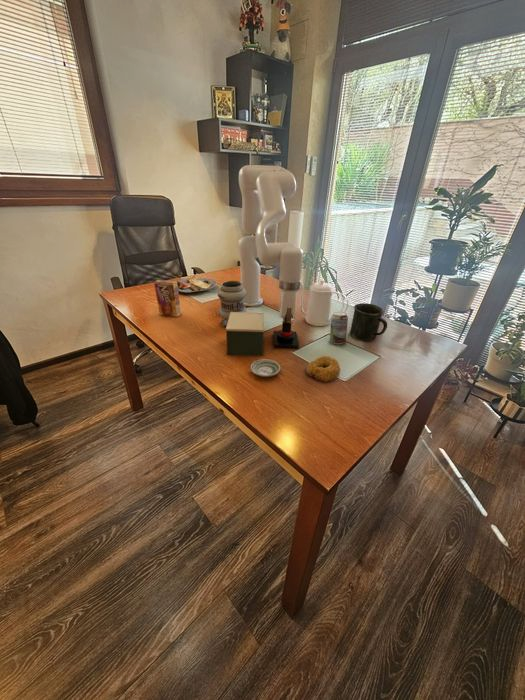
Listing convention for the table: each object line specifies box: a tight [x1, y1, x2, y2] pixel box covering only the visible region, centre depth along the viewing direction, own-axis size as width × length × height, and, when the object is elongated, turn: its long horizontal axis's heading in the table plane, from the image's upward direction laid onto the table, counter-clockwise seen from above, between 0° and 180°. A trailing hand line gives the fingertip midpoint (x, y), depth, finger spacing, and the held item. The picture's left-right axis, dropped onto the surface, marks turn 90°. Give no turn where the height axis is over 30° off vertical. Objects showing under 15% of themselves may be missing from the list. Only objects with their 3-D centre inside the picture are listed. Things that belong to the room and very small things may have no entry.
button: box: [280, 329, 291, 336], centre depth 111 cm, size 4×4×2 cm
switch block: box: [273, 329, 300, 350], centre depth 112 cm, size 11×9×4 cm
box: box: [225, 322, 265, 356], centre depth 107 cm, size 14×13×10 cm
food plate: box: [176, 275, 217, 293], centre depth 163 cm, size 25×23×4 cm
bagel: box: [305, 355, 342, 382], centre depth 94 cm, size 10×11×5 cm
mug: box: [349, 302, 388, 342], centre depth 114 cm, size 11×15×12 cm
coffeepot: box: [300, 279, 349, 327], centre depth 124 cm, size 11×25×19 cm, turn 62°
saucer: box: [250, 358, 282, 378], centre depth 94 cm, size 10×10×2 cm
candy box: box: [153, 279, 182, 318], centre depth 129 cm, size 9×4×15 cm, turn 78°
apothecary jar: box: [216, 280, 248, 329], centre depth 120 cm, size 12×12×18 cm
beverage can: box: [329, 311, 349, 345], centre depth 110 cm, size 6×7×12 cm
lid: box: [225, 311, 265, 333], centre depth 104 cm, size 14×13×1 cm
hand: (286, 331), depth 111 cm, fingers closed
